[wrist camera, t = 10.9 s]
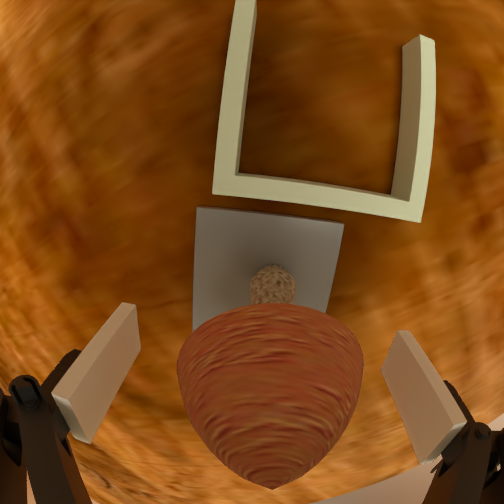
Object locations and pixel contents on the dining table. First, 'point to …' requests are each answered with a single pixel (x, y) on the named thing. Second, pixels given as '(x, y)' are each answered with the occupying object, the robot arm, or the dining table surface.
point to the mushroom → (270, 382)
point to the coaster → (260, 257)
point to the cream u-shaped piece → (320, 194)
